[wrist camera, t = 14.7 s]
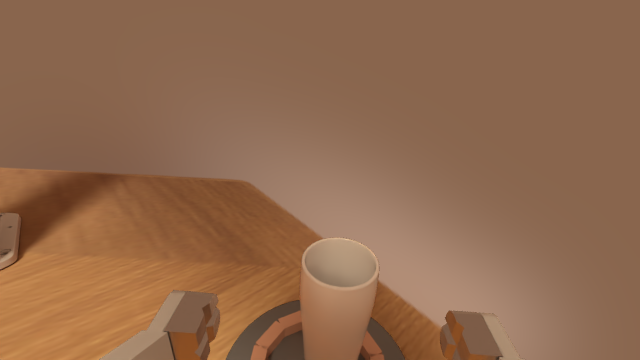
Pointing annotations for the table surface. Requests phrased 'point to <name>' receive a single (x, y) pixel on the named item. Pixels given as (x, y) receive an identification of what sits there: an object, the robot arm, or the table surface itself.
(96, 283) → the table surface
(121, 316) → the table surface
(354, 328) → the drinking glass
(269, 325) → the round tray
